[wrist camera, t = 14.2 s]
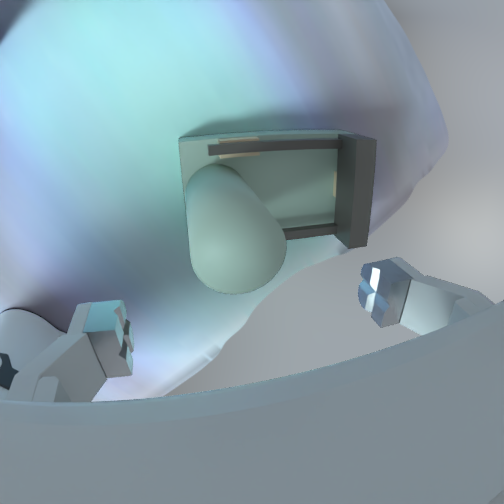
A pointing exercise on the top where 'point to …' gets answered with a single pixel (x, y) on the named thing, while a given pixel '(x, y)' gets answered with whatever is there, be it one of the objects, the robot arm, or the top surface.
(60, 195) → the top surface
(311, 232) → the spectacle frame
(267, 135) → the flanged cylinder mount
